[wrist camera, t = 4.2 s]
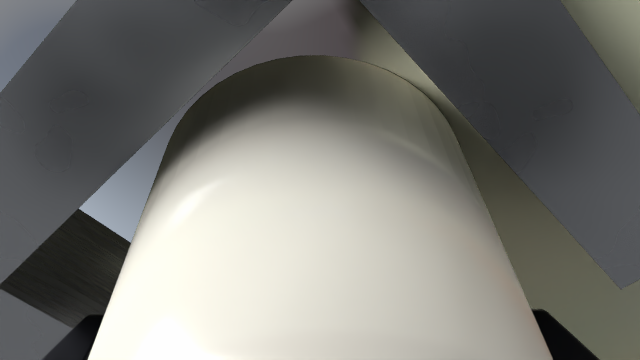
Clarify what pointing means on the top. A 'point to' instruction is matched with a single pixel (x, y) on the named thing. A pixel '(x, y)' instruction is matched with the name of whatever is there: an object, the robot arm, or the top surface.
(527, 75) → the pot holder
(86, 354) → the robot arm
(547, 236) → the top surface
